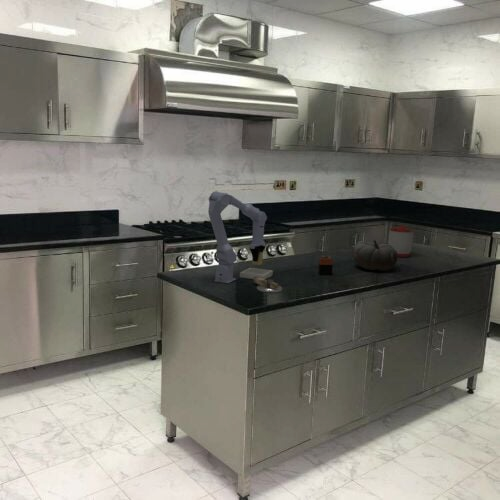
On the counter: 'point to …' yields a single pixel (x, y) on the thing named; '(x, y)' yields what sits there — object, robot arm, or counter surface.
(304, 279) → the counter surface
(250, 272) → the tray
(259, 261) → the stop block
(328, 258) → the battery
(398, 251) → the citrus juicer
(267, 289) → the crank base
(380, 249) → the gourd
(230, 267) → the robot arm
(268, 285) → the crank lever
